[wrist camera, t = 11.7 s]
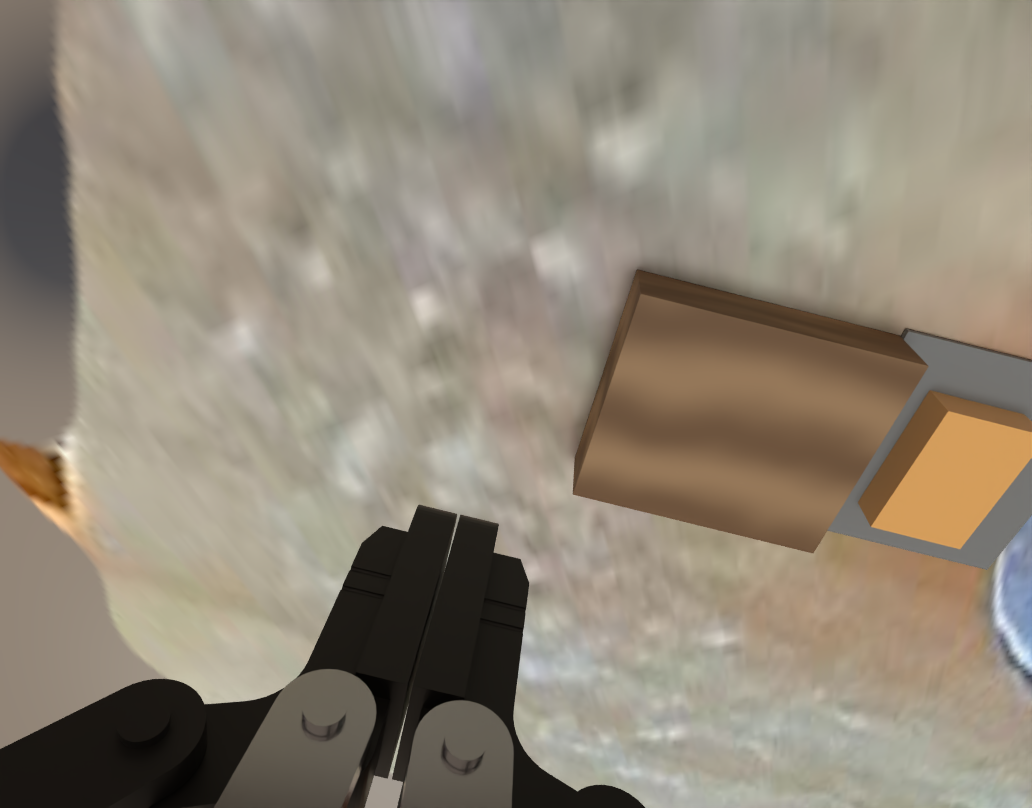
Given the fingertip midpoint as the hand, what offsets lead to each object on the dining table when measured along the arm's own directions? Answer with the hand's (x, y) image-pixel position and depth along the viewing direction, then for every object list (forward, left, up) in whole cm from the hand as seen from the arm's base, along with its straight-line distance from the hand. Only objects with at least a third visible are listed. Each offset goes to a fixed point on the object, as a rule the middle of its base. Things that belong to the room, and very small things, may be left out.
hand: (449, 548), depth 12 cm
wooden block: (+10, +14, -29) cm, 34 cm away
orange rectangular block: (+10, +28, -27) cm, 40 cm away
